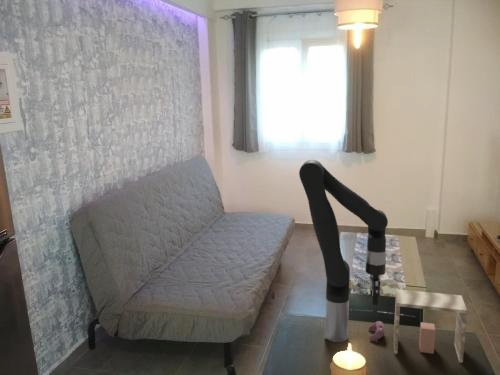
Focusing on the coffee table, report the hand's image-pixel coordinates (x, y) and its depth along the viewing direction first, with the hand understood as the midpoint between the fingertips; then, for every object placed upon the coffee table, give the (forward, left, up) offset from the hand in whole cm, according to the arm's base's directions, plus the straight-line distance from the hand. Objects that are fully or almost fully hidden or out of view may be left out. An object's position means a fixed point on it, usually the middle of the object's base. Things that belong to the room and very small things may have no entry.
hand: (373, 300), depth 180 cm
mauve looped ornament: (+2, +6, -19) cm, 20 cm away
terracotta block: (+21, 0, -18) cm, 28 cm away
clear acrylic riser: (+21, 0, -18) cm, 28 cm away
